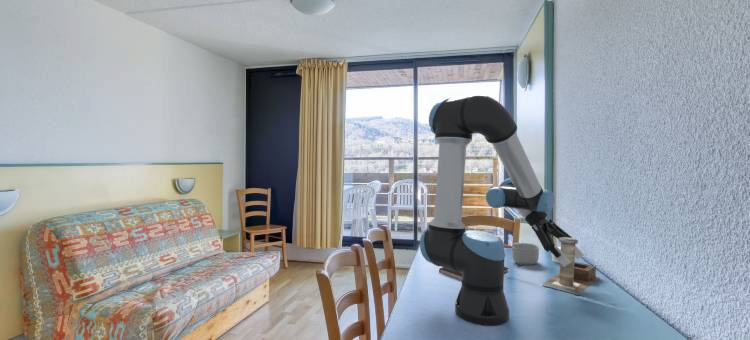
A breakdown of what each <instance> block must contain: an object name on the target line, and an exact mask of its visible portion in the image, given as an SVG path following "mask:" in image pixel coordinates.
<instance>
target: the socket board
mask: <svg viewBox="0 0 750 340" xmlns="http://www.w3.org/2000/svg"><path fill="white" fill-rule="evenodd" d="M596 272H597V266H596V265H593V264H587V263H584V262H578V261H574V282H573V286H565V285H562V284H560V283H559V278H560V273H558V274H556V275H555V276H552V277H551V278H550V279H548V280H546V281H544V282H543V283H542V284H543V285H542V287H544V288H548V289H552V290H554V291H559V292H562V293H566V294H570V295H574V296H576V297H581V296H582V295H581V293H582V292H584V291H585V290H587V289H588V288H589V287H590V286H591V285H593V284H594V283H595V282H597V281H598V280H600V279H601V277H600V276H597V275H596ZM576 293H577V294H576Z"/></svg>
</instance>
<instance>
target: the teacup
mask: <svg viewBox="0 0 750 340" xmlns="http://www.w3.org/2000/svg"><path fill="white" fill-rule="evenodd" d="M511 253H512V254H511V256H512V260H513V261H514V262H515V263H516V264H518V265H520V266H523V267H524V266H525V265H526V266H529V265H530V266H531V265H532V266H533V265H535V264H537V263H538V261H539V257H540V246H538V245H536V244H533V243H529V242H528V243H527V242H526V243H525V242H519V243H518V242H514V243H512V245H511Z"/></svg>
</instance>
